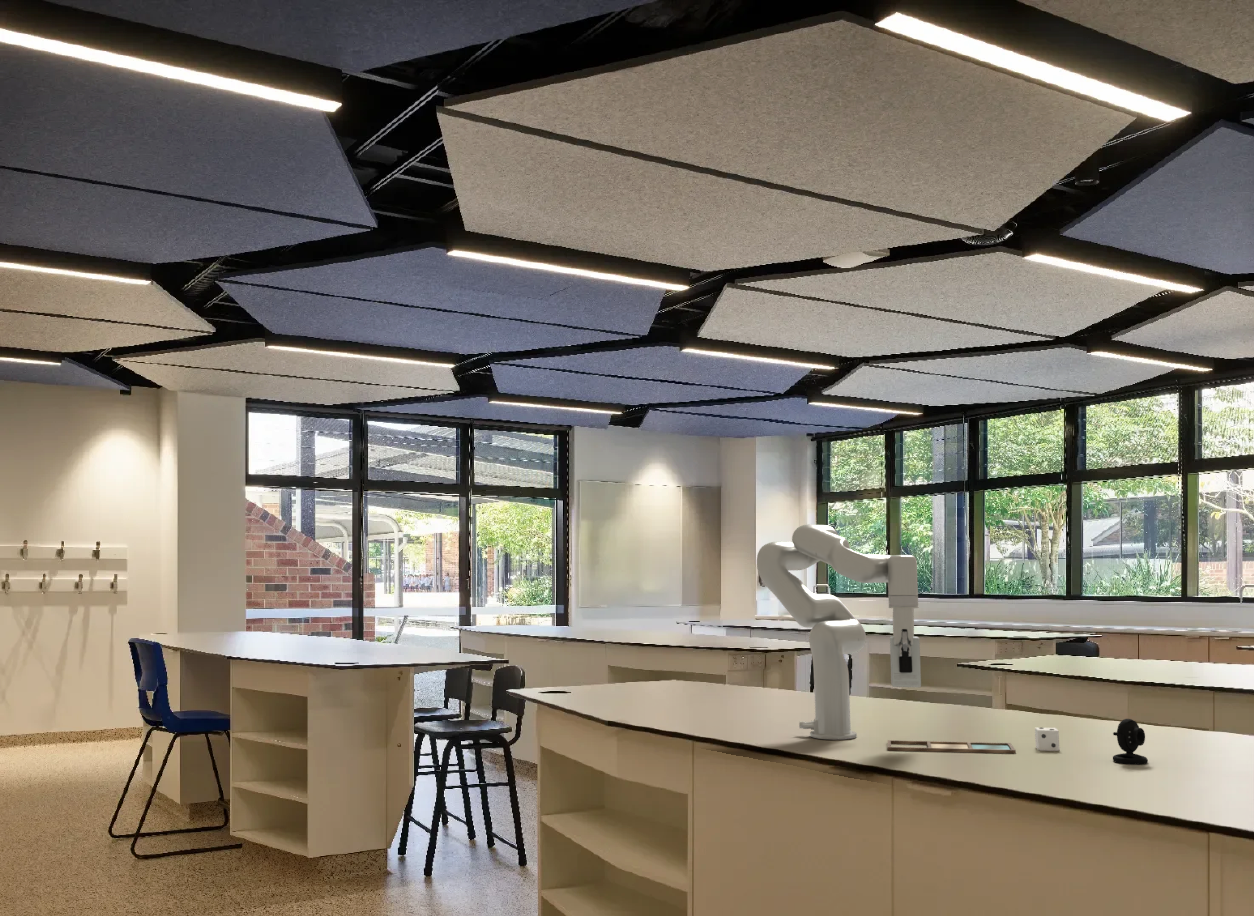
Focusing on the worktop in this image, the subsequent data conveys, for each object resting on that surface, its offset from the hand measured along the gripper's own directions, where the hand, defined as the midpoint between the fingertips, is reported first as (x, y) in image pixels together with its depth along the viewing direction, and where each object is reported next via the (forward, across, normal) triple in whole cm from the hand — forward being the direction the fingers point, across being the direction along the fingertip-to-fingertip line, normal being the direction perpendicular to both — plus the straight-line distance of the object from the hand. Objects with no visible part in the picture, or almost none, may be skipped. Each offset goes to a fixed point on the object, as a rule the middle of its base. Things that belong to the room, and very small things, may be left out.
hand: (905, 670), depth 282 cm
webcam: (+19, +14, +50) cm, 56 cm away
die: (+19, -3, +34) cm, 40 cm away
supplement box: (+4, 0, 0) cm, 4 cm away
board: (+19, 0, +10) cm, 22 cm away
